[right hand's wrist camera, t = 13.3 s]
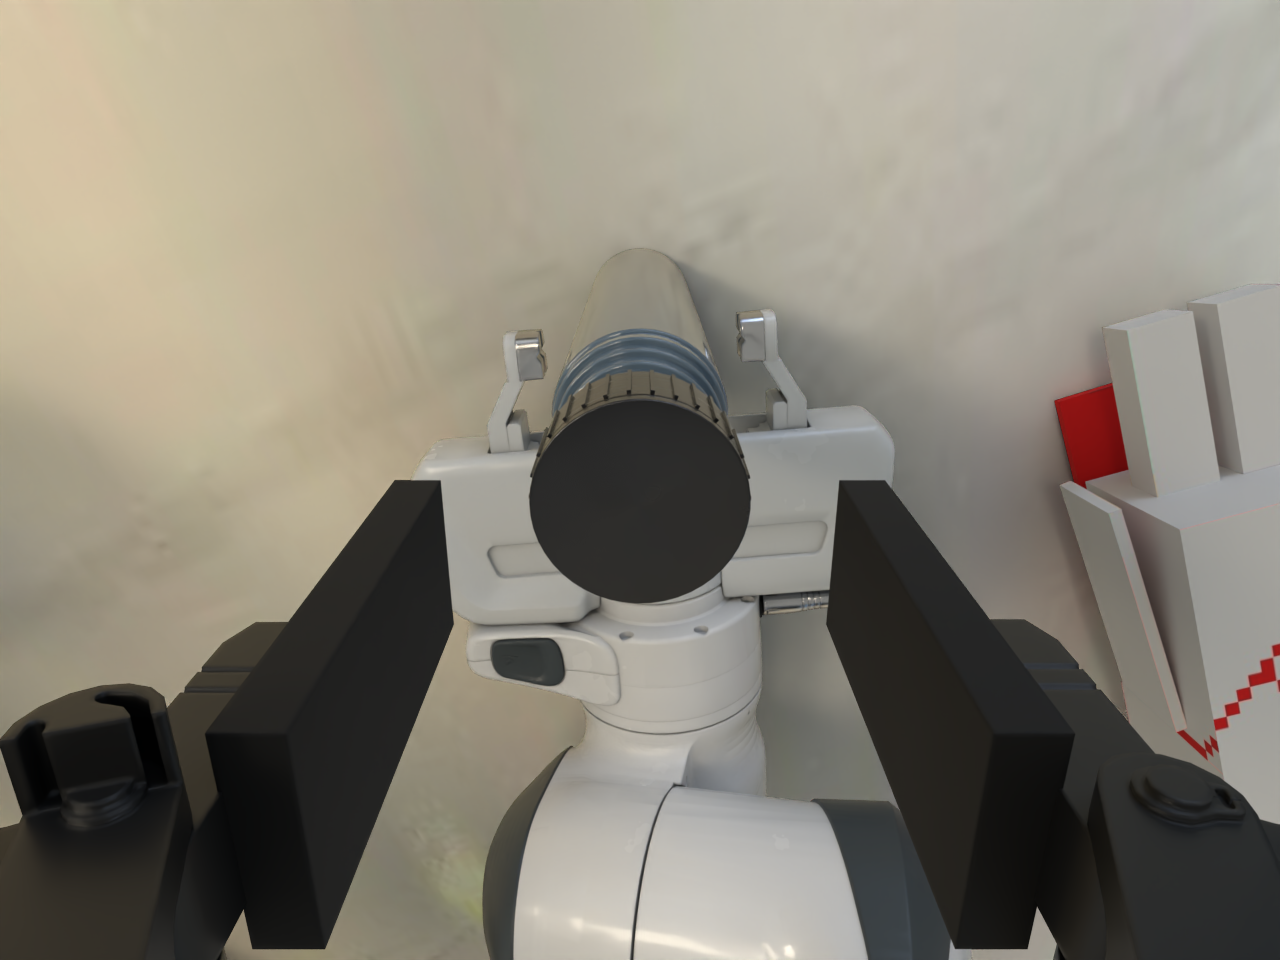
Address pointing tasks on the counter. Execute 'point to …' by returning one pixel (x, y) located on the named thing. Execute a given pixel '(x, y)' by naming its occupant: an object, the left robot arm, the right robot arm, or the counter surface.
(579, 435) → the cap
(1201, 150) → the counter surface
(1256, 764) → the toy
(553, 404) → the bottle
